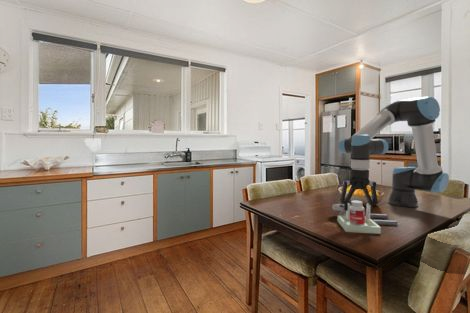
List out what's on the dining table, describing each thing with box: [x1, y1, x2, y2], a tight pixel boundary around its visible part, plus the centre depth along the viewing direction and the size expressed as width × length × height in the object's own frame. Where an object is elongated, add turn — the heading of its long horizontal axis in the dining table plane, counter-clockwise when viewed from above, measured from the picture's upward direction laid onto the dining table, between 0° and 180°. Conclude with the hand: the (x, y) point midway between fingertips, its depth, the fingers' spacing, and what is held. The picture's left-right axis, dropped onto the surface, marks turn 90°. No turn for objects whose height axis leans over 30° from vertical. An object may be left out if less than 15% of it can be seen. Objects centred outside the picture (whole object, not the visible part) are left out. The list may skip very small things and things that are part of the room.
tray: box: [336, 214, 382, 235], centre depth 109 cm, size 14×14×3 cm
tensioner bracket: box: [365, 213, 399, 227], centre depth 117 cm, size 10×11×2 cm
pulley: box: [331, 203, 346, 216], centre depth 122 cm, size 10×10×6 cm
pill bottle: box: [350, 200, 366, 226], centre depth 109 cm, size 6×6×11 cm
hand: (357, 217), depth 109 cm, fingers open, 8 cm apart
